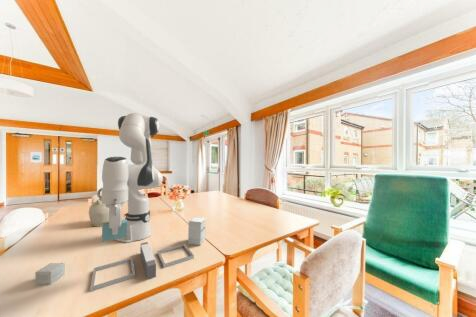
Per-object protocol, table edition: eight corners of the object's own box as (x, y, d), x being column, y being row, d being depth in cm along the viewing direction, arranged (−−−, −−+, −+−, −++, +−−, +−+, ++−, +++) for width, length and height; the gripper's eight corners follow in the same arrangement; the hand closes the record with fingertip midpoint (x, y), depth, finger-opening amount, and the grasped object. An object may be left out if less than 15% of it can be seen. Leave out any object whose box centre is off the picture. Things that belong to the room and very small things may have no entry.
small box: (50, 275, 70) (50, 262, 70) (65, 274, 70) (65, 262, 70) (34, 285, 64) (34, 271, 64) (50, 285, 65) (51, 271, 65)
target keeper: (135, 277, 70) (135, 273, 70) (90, 291, 62) (90, 288, 62) (132, 260, 81) (132, 257, 81) (93, 270, 73) (93, 267, 73)
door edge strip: (156, 276, 70) (156, 262, 70) (147, 279, 68) (147, 265, 68) (147, 251, 88) (147, 241, 88) (140, 253, 86) (140, 242, 86)
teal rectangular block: (101, 241, 67) (102, 226, 67) (102, 237, 71) (102, 222, 71) (126, 236, 72) (127, 222, 72) (126, 233, 75) (126, 219, 75)
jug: (102, 219, 133) (103, 185, 133) (121, 220, 131) (121, 186, 131) (82, 226, 118) (82, 189, 118) (102, 228, 116) (103, 190, 116)
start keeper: (194, 258, 83) (194, 255, 83) (163, 267, 76) (163, 265, 76) (184, 246, 94) (184, 243, 94) (157, 253, 87) (157, 251, 87)
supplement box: (200, 245, 95) (200, 222, 95) (187, 244, 97) (188, 221, 97) (205, 239, 102) (206, 217, 102) (193, 238, 104) (194, 216, 104)
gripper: (126, 201, 64) (125, 239, 64) (123, 192, 81) (123, 222, 81) (104, 204, 61) (103, 244, 61) (106, 193, 78) (106, 225, 78)
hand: (114, 231), depth 71 cm, fingers closed on teal rectangular block, 4 cm apart
